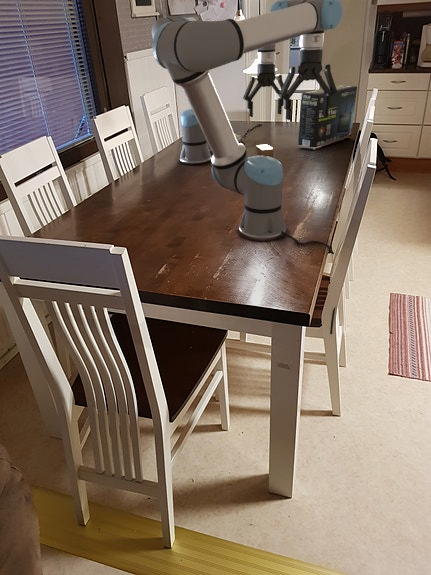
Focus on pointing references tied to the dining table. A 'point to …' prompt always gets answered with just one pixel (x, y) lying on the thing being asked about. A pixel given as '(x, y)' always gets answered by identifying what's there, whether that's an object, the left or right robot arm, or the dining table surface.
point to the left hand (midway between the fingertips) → (265, 115)
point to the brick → (264, 151)
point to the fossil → (239, 136)
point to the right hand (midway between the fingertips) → (306, 117)
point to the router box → (337, 121)
